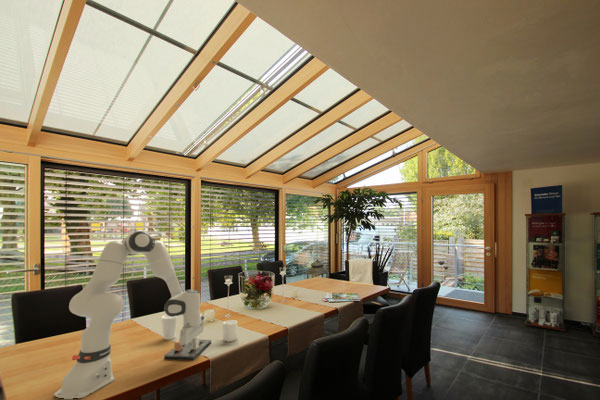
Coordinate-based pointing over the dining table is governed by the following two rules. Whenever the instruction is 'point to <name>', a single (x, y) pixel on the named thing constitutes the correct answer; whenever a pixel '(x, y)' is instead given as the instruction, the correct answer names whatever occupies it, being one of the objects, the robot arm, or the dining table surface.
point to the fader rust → (177, 346)
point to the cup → (230, 330)
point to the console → (187, 351)
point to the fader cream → (196, 344)
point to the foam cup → (169, 326)
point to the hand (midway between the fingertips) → (191, 347)
